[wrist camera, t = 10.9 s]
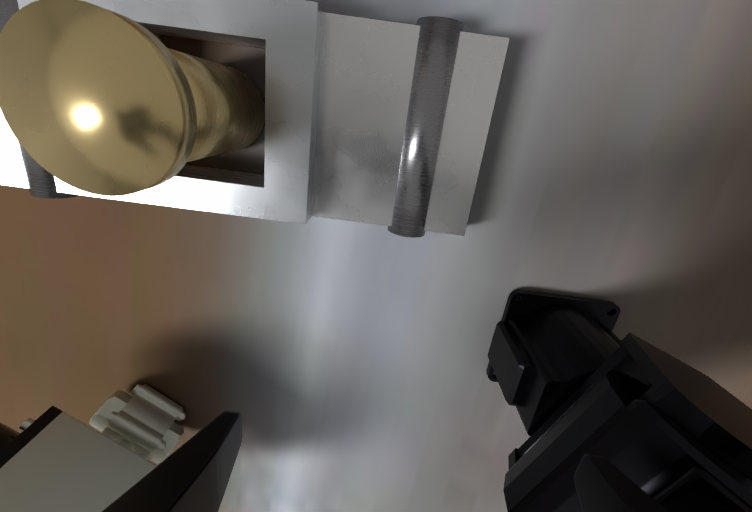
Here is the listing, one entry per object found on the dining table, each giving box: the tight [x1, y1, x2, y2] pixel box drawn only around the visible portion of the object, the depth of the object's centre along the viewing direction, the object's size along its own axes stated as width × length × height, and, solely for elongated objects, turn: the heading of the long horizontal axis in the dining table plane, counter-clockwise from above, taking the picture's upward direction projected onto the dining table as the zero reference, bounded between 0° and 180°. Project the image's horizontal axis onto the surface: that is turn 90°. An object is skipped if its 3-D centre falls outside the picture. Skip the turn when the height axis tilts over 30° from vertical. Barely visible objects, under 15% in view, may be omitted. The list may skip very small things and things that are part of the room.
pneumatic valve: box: [0, 384, 186, 512], centre depth 20 cm, size 6×12×12 cm, turn 48°
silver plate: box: [0, 0, 510, 237], centre depth 17 cm, size 23×10×3 cm, turn 83°
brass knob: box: [0, 0, 265, 196], centre depth 14 cm, size 5×5×9 cm
